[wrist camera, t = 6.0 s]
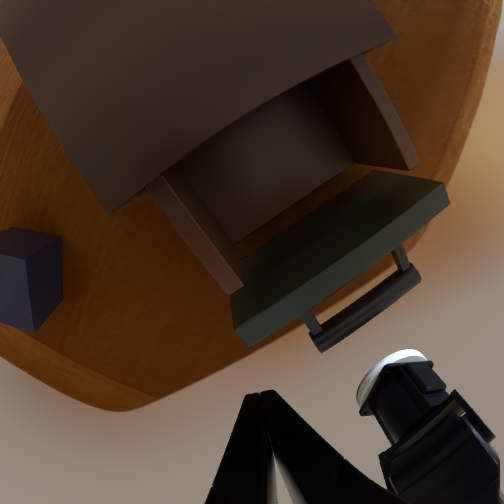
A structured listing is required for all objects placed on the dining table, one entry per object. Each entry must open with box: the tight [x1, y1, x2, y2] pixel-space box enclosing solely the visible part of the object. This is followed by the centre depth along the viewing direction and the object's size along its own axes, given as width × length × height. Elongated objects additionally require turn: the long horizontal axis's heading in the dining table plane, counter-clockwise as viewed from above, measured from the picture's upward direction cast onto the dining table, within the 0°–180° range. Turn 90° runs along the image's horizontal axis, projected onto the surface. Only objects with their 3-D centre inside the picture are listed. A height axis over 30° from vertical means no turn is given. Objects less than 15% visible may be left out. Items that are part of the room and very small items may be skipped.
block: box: [0, 228, 63, 333], centre depth 15 cm, size 5×5×5 cm
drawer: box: [145, 54, 450, 353], centre depth 14 cm, size 18×11×7 cm, turn 34°
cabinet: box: [0, 0, 397, 215], centre depth 11 cm, size 15×13×9 cm
